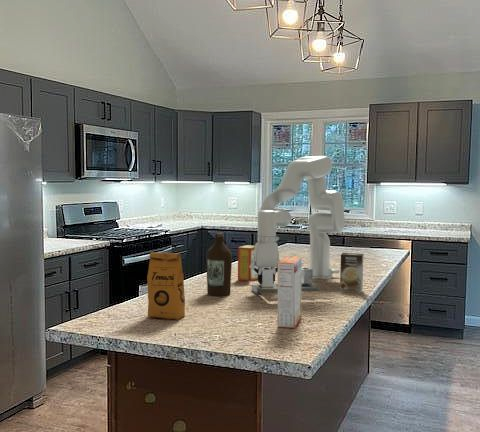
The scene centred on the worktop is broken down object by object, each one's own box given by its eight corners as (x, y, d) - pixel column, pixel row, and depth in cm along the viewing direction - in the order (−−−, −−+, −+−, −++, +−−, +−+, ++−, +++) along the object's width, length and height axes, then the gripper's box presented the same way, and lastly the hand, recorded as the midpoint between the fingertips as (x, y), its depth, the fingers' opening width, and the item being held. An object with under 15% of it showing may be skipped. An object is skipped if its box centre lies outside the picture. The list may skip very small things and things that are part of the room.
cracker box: (284, 316, 181) (285, 255, 180) (301, 318, 179) (302, 256, 178) (275, 327, 168) (276, 261, 166) (294, 329, 166) (295, 262, 165)
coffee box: (339, 292, 223) (339, 254, 222) (341, 289, 229) (342, 252, 228) (361, 293, 220) (362, 255, 219) (363, 290, 226) (363, 253, 225)
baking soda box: (250, 281, 245) (250, 247, 244) (237, 280, 248) (238, 246, 247) (259, 278, 253) (259, 245, 252) (247, 277, 256) (247, 244, 255)
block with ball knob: (306, 285, 237) (307, 267, 236) (312, 287, 233) (312, 268, 232) (298, 286, 235) (298, 267, 234) (303, 288, 231) (304, 269, 230)
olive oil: (211, 290, 224) (211, 231, 223) (235, 292, 221) (235, 232, 219) (202, 295, 214) (202, 233, 212) (226, 297, 211) (227, 234, 209)
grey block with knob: (270, 286, 224) (270, 267, 223) (272, 288, 219) (273, 268, 219) (259, 286, 223) (260, 267, 222) (262, 289, 218) (262, 269, 218)
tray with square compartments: (310, 288, 230) (310, 282, 230) (318, 293, 220) (318, 287, 220) (251, 290, 225) (251, 284, 225) (257, 295, 215) (257, 289, 215)
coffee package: (177, 322, 173) (177, 255, 172) (143, 319, 177) (143, 253, 175) (189, 315, 183) (189, 251, 181) (156, 312, 186) (156, 250, 185)
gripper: (283, 238, 225) (283, 281, 226) (244, 239, 222) (244, 282, 223) (288, 240, 218) (288, 284, 219) (248, 241, 215) (248, 286, 216)
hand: (266, 283), depth 221 cm, fingers closed on grey block with knob, 4 cm apart
